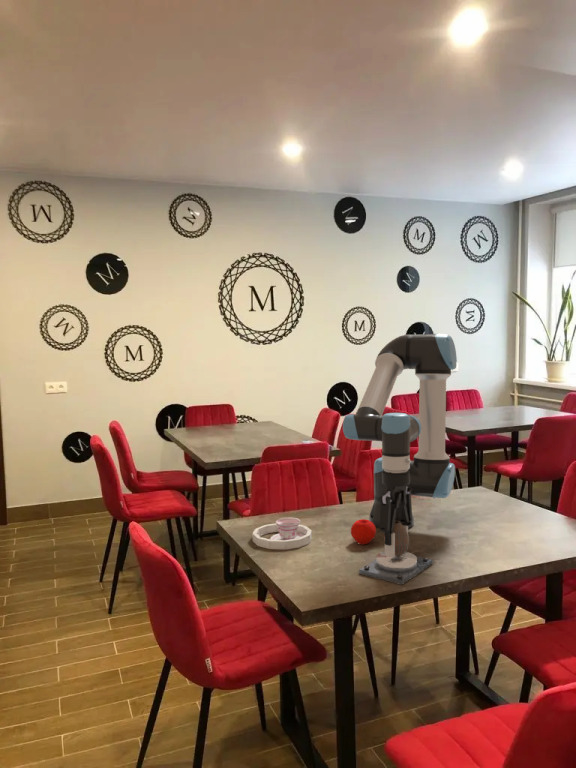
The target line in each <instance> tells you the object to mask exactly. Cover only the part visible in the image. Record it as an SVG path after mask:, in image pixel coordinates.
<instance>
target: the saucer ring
mask: <svg viewBox="0 0 576 768" xmlns="http://www.w3.org/2000/svg"><path fill="white" fill-rule="evenodd" d="M278 527H279V526H277V524H276V523H270V524H269V523H268V524H264V525H262V526H259V527H257V528H254V530H253V532H252V535H251V536H252V542H253V543H254V544H255V545H256V546H257V547H260V548H264V549H268V550H291V549H298V548H303V547H304V546H306V545H309V544H311V541H312V538H313V534H312V532H313V531H312V529H310V528H309V527H308V526H306V525H303V524H299V525H298V528H297V530H296V533H300V534H303V535H304V536H302V537H300V538H297V539H295V538H294V539H290V540H283V539H281V540H270V538H266V537H262V536H264V535H267V534H272V533H279V531H278Z"/></svg>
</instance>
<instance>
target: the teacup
mask: <svg viewBox="0 0 576 768" xmlns="http://www.w3.org/2000/svg"><path fill="white" fill-rule="evenodd" d="M275 524H277V526H279V527H278V531H279V532H278V533H277V534H273V535H272V536H270V538H269V539H270V540H290V539H297V538H300V537H302V536H304V535H303V534H300V533H296V530H297V528H298V525H301V519H300V518H297V517H291V516H290V517H289V516H288V517H282V518H278V519H277V520H275Z"/></svg>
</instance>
